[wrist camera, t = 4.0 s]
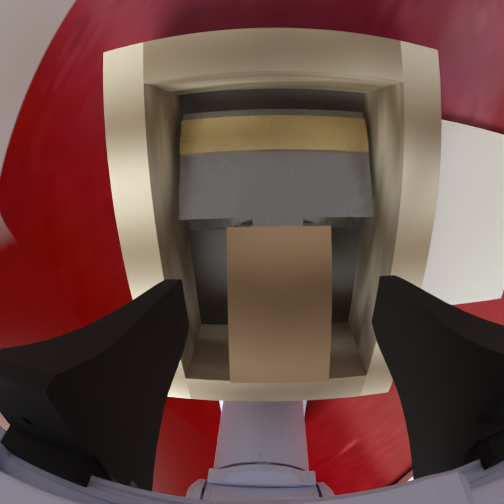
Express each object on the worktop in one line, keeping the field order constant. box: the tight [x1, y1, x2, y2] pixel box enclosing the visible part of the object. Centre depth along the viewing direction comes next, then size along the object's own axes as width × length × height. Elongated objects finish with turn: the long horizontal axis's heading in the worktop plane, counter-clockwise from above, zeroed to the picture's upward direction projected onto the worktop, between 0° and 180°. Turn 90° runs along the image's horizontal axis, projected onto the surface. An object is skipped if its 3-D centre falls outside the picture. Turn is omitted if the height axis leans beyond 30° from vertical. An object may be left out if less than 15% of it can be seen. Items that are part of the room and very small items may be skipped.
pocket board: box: [103, 28, 441, 402], centre depth 16 cm, size 20×15×6 cm
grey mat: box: [421, 120, 504, 305], centre depth 18 cm, size 14×10×1 cm
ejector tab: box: [179, 109, 374, 230], centre depth 15 cm, size 14×10×2 cm
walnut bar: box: [227, 226, 332, 383], centre depth 14 cm, size 7×4×2 cm, turn 1°
